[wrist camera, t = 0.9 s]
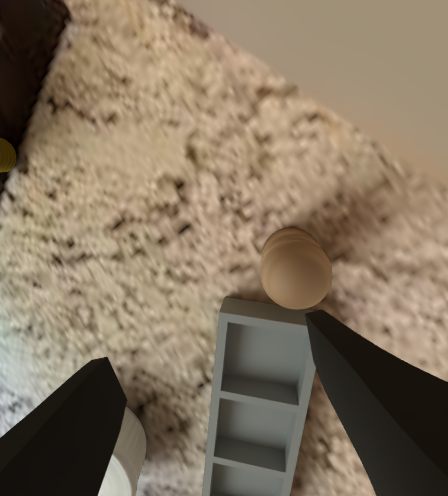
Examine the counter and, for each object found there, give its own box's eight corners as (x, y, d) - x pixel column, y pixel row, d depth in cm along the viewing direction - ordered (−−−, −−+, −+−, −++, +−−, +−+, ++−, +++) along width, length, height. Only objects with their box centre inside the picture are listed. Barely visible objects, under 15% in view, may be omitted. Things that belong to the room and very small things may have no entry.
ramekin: (63, 460, 32) (24, 514, 27) (52, 376, 29) (7, 418, 24) (157, 480, 30) (134, 540, 25) (155, 393, 27) (130, 442, 22)
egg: (324, 231, 21) (347, 254, 15) (314, 285, 22) (332, 328, 16) (265, 224, 22) (264, 244, 15) (258, 277, 23) (254, 316, 16)
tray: (317, 310, 23) (323, 328, 20) (280, 503, 28) (281, 537, 26) (224, 296, 24) (219, 312, 21) (206, 485, 29) (199, 516, 26)
